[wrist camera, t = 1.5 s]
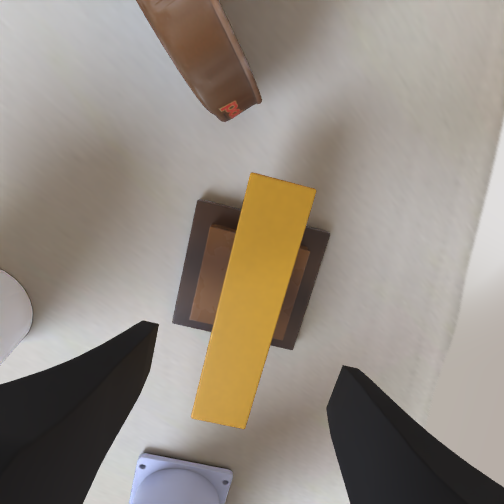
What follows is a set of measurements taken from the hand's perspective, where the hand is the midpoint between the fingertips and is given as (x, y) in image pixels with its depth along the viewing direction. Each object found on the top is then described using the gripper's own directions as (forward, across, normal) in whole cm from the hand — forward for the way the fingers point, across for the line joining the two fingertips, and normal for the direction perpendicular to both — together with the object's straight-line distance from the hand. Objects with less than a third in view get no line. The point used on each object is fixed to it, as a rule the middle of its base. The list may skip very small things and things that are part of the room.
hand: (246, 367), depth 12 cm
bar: (+7, 0, 0) cm, 7 cm away
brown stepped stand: (+10, 0, 0) cm, 11 cm away
